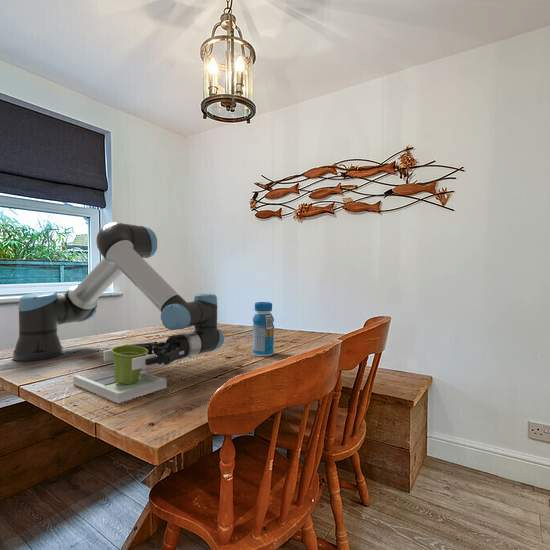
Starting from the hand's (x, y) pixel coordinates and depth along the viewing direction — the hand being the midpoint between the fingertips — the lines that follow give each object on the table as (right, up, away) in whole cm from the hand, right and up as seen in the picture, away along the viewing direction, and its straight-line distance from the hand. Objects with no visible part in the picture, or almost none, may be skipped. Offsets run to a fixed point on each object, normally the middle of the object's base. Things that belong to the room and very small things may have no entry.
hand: (117, 360), depth 90 cm
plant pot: (0, -7, +5) cm, 9 cm away
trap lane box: (-2, -9, +6) cm, 11 cm away
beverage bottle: (+37, -9, +43) cm, 57 cm away
